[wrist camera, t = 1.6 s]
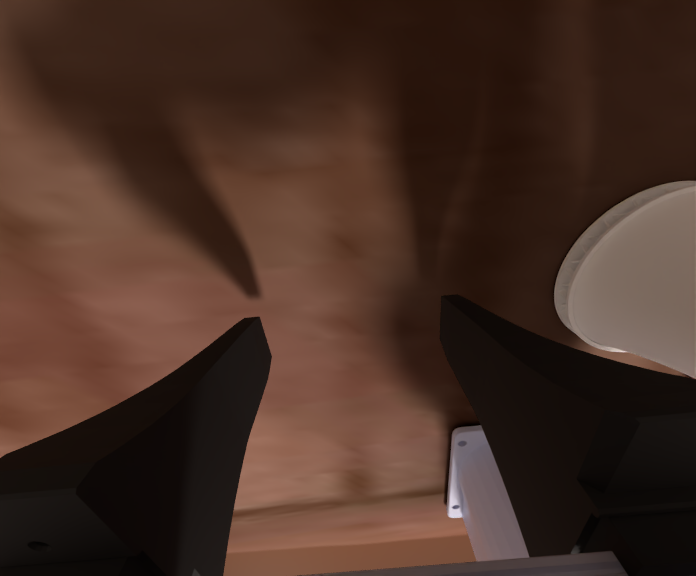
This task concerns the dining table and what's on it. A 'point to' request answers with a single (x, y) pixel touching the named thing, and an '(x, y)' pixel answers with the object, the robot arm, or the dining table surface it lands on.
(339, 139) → the dining table surface
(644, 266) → the vase
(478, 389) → the robot arm
